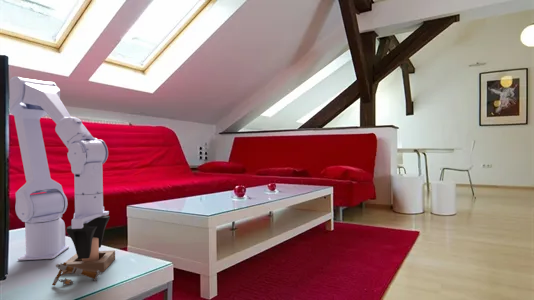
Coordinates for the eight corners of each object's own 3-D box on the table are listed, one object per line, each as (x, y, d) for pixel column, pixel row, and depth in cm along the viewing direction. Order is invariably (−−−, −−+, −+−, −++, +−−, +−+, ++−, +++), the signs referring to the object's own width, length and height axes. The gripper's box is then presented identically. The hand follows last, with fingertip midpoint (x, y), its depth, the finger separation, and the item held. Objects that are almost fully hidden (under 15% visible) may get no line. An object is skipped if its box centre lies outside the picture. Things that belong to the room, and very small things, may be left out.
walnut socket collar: (78, 260, 82) (77, 252, 82) (115, 258, 83) (115, 250, 83) (62, 273, 74) (62, 264, 74) (103, 271, 75) (103, 262, 75)
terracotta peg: (85, 263, 80) (84, 237, 80) (101, 262, 81) (100, 237, 81) (79, 269, 77) (78, 242, 77) (96, 268, 77) (95, 241, 77)
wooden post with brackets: (47, 282, 68) (58, 259, 68) (90, 290, 71) (99, 269, 72) (46, 285, 66) (57, 262, 67) (90, 293, 70) (99, 272, 70)
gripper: (96, 197, 72) (97, 262, 72) (116, 188, 86) (117, 242, 86) (60, 198, 71) (61, 264, 71) (86, 189, 85) (87, 243, 85)
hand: (90, 252), depth 79 cm, fingers open, 7 cm apart
